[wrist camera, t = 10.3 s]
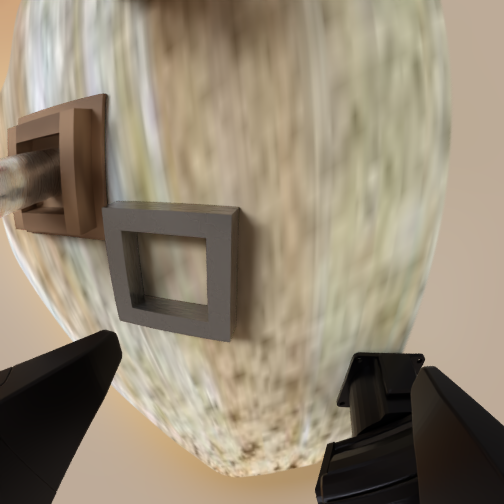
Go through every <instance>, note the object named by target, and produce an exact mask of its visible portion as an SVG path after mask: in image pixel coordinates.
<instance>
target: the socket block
mask: <svg viewBox="0 0 504 504" xmlns="http://www.w3.org/2000/svg"><path fill="white" fill-rule="evenodd" d="M102 217H103V226H104V235H105V242H106V250H107V256H108V263H109V269H110V275H111V280H112V286H113V291H114V296H115V301H116V306H117V310H118V315H119V319H120V321H124V322H129V323H133V324H137V325H141V326H146V327H150V328H155V329H159V330H164V331H169V332H174V333H179V334H184V335H189V336H195V337H200V338H206V339H212V340H218V341H224V342H230V341H231V339H232V336H233V333H234V330H235V327H236V299H237V257H238V221H239V207H231V206H217V205H201V204H183V203H163V202H138V201H116V202H114V203H111V204H109V205H107V206H104V207H102ZM137 232H145V233H156V234H167V235H178V236H189V237H200V238H206V259H207V296H208V305H201V304H195V303H188V302H182V301H176V300H170V299H164V298H158V297H153V296H147V295H144V290H143V283H142V276H141V268H140V259H139V250H138V240H137Z"/></svg>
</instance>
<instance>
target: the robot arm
mask: <svg viewBox="0 0 504 504" xmlns="http://www.w3.org/2000/svg"><path fill="white" fill-rule="evenodd" d="M358 358H360V359H358ZM121 359H122V350H121V347H120V344H119V340H118V337H117V334H116V333H115V332H112V331H109V330H102V331H99V332H97V333H94V334H92V335H89V336H87V337H85V338H82V339H80V340H77V341H75V342H72V343H70V344H67V345H65V346H63V347H60V348H58V349H55V350H53V351H50V352H48V353H46V354H43V355H40V356H38V357H35V358H33V359H30V360H28V361H25V362H23V363H20V364H18V365H15V366H13V367H10V368H7V369H5V370H2V371H0V504H51V503H52V501H53V499H54V497H55V495H56V491H57V490H58V488H59V486H60V484H61V481H62V479H63V477H64V475H65V473H66V471H67V469H68V467H69V465H70V462H71V461H72V459H73V457H74V455H75V453H76V451H77V449H78V447H79V445H80V443H81V441H82V439H83V437H84V435H85V434H86V432H87V430H88V428H89V426H90V424H91V422H92V420H93V419H94V417H95V415H96V413H97V411H98V409H99V407H100V406H101V404H102V402H103V400H104V398H105V396H106V394H107V392H108V389H109V387H110V385H111V382H112V380H113V378H114V375H115V373H116V371H117V369H118V366H119V364H120V362H121ZM419 359H420V360H419ZM424 361H425V358H424V355H423V354H396V353H362V352H359V353H355V354H354V355H353V357H352V360H351V363H350V366H349V368H348V371H347V374H346V377H345V380H344V382H343V385H342V388H341V390H340V393H339V396H338V398H337V406H339V407H350V414H351V426H352V438H349V439H345V440H342V441H339V442H336V443H335V442H332V443H329V444H327V447H326V451H325V454H324V458H323V462H322V466H321V470H320V474H319V477H318V481H317V485H316V488H315V493H316V498H317V501H318V504H504V426H503V425H502V424H501V423H500V422H499V421H498V420H497V419H495V418H494V417H493V416H492V415H491V414H490V413H489V412H488V411H486V410H485V409H484V408H483V407H482V406H481V405H480V404H478V403H477V402H476V401H475V400H474V399H473V398H472V397H470V396H469V395H468V394H467V393H466V392H465V391H463V390H462V389H461V388H460V387H459V386H458V385H456V384H455V383H454V382H453V381H452V380H451V379H449V378H448V377H447V376H446V375H445V374H443V373H442V372H441V371H440V370H439V369H438V368H436V367H434V366H427V367H422V365H423V363H424ZM421 367H422V368H421Z"/></svg>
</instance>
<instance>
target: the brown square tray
mask: <svg viewBox="0 0 504 504" xmlns="http://www.w3.org/2000/svg"><path fill="white" fill-rule="evenodd" d="M105 104H106V94H98V95H94V96H90V97H86V98H82V99H78V100H74V101H70V102H67V103H63V104H60V105H57V106H53V107H50V108H47V109H44V110H41V111H38V112H35V113H32V114H29V115H27V116H24V117H21V118H19V119H18V125H17V126H14V127H12V128H9V129H8V156H12V155H17V154H22V153H27V152H33V151H39V150H45V149H51V148H58V149H60V173H61V186H62V194H61V195H58V196H55V197H53V198H50V199H47V200H44V201H41V202H39V203H36V204H33V205H31V206H28V207H26V208H23V209H20V210H18V211H15V212H13V214H14V220H15V226H16V229H21V230H27V232H35V233H44V234H53V235H62V236H71V237H80V238H89V239H98V240H105V235H104V226H103V217H102V207H104V206H107V191H106V173H105Z"/></svg>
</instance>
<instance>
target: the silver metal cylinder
mask: <svg viewBox="0 0 504 504" xmlns="http://www.w3.org/2000/svg"><path fill="white" fill-rule="evenodd" d="M61 194H62V186H61V173H60V149H58V148H51V149H45V150H39V151H33V152H27V153H22V154H17V155H12V156H8V157H3V158H0V218H1V217H3V216H6V215H8V214H11V213H13V212H15V211H18V210H20V209H23V208H26V207H28V206H31V205H33V204H36V203H39V202H41V201H44V200H47V199H50V198H53V197H55V196H58V195H61Z"/></svg>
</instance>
